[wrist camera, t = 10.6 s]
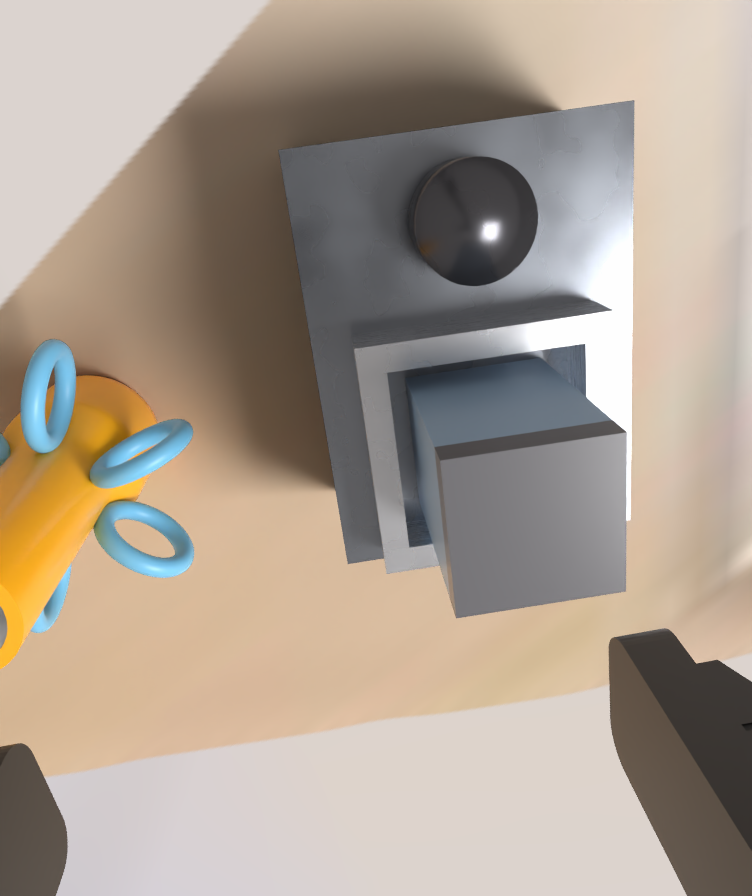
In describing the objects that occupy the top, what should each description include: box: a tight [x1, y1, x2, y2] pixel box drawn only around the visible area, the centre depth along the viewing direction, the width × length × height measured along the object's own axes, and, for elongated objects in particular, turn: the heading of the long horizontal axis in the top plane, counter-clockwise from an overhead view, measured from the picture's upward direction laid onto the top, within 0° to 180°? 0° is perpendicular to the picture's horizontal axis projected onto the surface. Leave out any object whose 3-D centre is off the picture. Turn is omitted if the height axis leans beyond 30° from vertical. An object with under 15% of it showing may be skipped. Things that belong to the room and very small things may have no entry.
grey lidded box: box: [405, 358, 627, 618], centre depth 24 cm, size 5×5×8 cm
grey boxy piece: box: [278, 100, 634, 574], centre depth 29 cm, size 16×12×9 cm
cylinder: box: [0, 339, 194, 669], centre depth 27 cm, size 12×10×15 cm
